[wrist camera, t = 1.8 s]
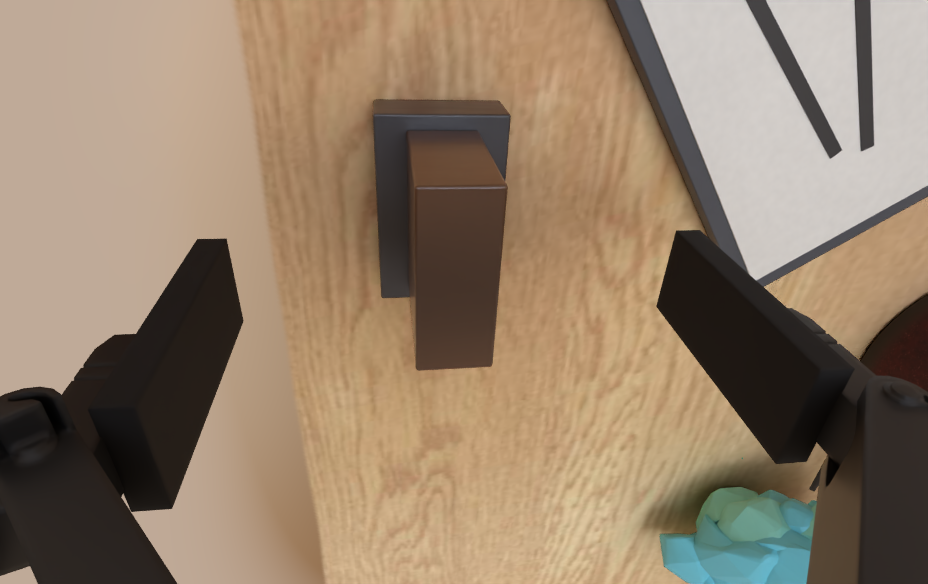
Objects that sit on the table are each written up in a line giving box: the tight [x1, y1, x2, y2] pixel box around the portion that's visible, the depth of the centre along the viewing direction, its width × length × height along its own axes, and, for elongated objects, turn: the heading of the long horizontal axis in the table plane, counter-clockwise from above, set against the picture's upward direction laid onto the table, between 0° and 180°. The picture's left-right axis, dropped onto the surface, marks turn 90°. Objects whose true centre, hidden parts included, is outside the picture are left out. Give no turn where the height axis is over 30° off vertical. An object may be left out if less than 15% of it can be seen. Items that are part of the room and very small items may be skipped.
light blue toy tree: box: [660, 458, 817, 584], centre depth 34 cm, size 11×9×15 cm
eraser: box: [373, 100, 511, 370], centre depth 19 cm, size 7×4×7 cm, turn 178°
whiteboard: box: [607, 0, 928, 287], centre depth 19 cm, size 18×14×1 cm
